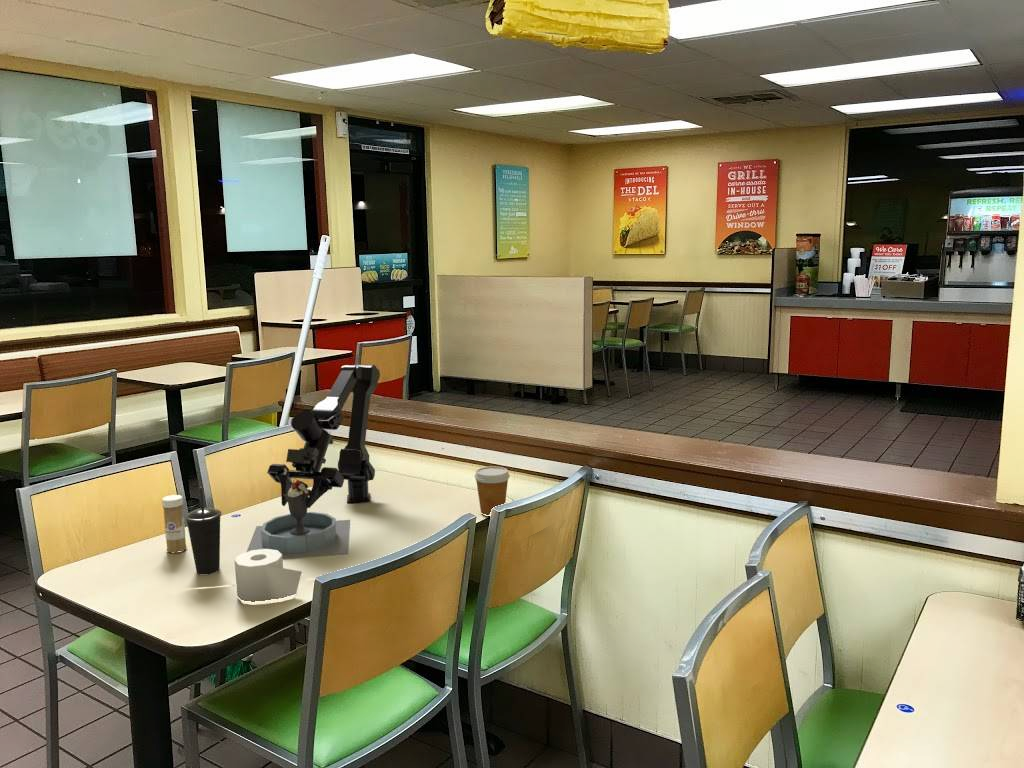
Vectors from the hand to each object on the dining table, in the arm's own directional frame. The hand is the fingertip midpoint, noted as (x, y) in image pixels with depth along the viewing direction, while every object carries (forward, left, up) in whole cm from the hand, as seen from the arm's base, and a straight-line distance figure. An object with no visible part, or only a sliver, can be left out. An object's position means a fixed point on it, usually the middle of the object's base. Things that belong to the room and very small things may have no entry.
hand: (295, 506), depth 196 cm
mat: (-1, 0, -9) cm, 10 cm away
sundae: (-1, +1, -7) cm, 7 cm away
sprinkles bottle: (-1, -29, -10) cm, 30 cm away
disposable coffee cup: (-11, +50, -10) cm, 53 cm away
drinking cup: (+14, -19, -10) cm, 25 cm away
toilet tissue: (+30, -4, -10) cm, 31 cm away
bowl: (-1, 0, -9) cm, 9 cm away
